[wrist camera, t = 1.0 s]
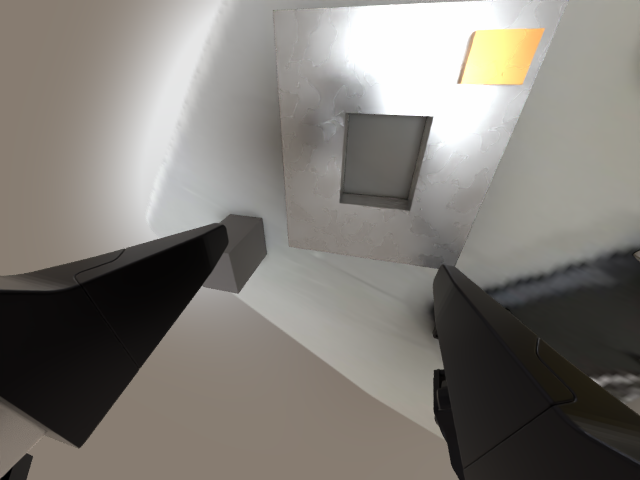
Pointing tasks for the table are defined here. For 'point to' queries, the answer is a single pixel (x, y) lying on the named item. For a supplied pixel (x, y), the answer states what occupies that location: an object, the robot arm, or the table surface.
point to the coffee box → (637, 255)
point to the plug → (239, 254)
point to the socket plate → (403, 99)
